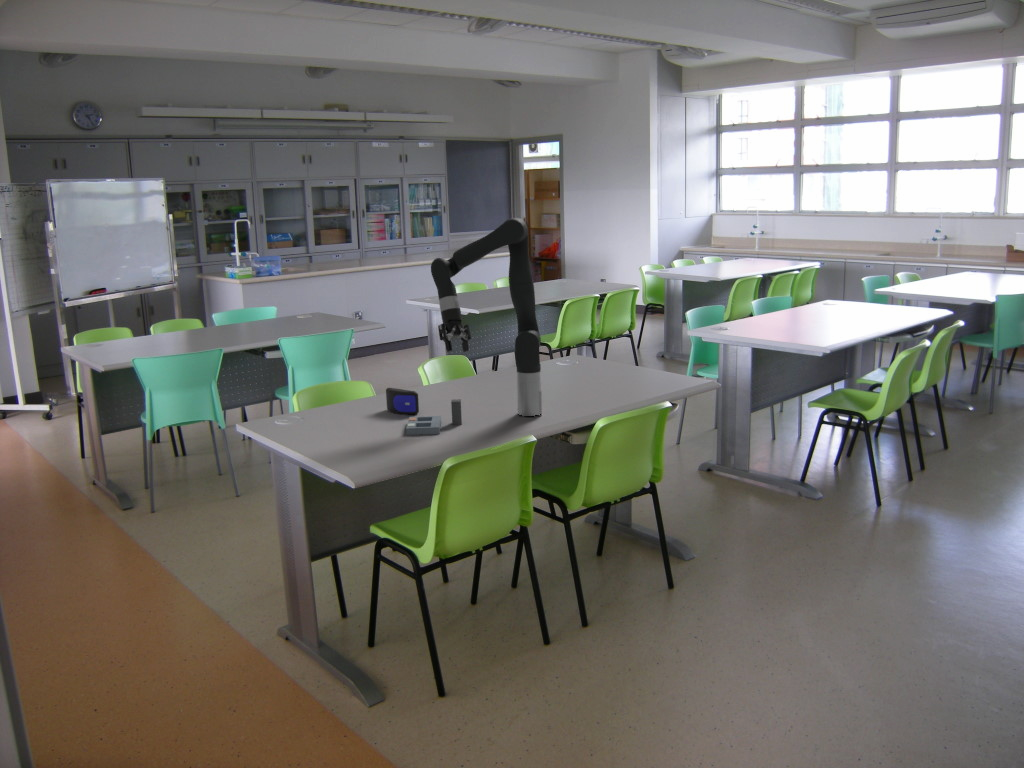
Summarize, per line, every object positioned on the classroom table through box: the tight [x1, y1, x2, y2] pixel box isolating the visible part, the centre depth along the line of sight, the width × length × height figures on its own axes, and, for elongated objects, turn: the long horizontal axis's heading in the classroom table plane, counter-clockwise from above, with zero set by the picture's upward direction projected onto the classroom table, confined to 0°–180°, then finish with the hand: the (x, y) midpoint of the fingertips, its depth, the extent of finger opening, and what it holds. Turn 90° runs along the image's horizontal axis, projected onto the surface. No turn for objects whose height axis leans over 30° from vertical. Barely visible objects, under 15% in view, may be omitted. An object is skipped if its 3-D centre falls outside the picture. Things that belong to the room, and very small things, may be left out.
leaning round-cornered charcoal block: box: [385, 387, 420, 416], centre depth 333 cm, size 16×5×9 cm, turn 56°
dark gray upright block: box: [450, 398, 463, 426], centre depth 315 cm, size 4×4×9 cm
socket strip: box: [405, 415, 442, 436], centre depth 311 cm, size 12×16×3 cm
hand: (458, 351), depth 316 cm, fingers open, 8 cm apart
